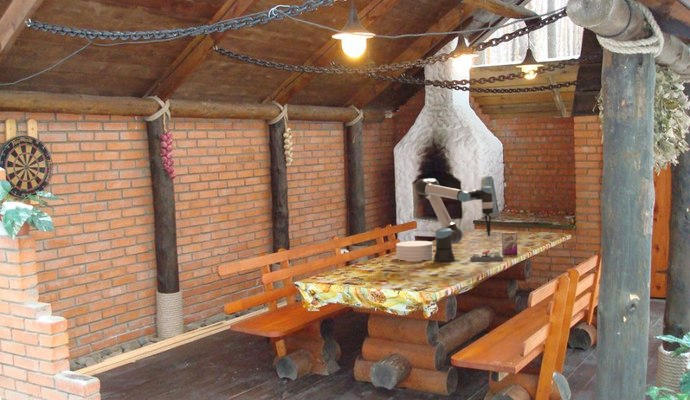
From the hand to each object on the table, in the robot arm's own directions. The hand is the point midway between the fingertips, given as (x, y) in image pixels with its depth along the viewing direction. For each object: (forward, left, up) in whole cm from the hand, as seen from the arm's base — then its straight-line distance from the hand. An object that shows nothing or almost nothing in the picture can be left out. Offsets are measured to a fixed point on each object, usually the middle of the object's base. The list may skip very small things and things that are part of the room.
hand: (489, 240), depth 490 cm
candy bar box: (+15, +27, -15) cm, 35 cm away
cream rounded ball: (-10, 0, -14) cm, 17 cm away
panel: (-2, 0, -15) cm, 15 cm away
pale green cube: (+5, 0, -12) cm, 13 cm away
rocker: (-2, 0, -10) cm, 10 cm away
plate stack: (-56, +13, -15) cm, 59 cm away
